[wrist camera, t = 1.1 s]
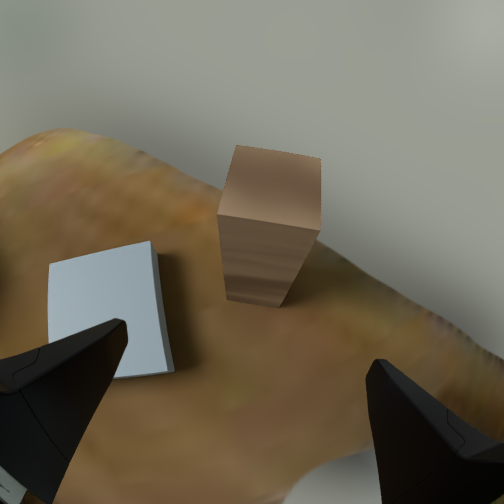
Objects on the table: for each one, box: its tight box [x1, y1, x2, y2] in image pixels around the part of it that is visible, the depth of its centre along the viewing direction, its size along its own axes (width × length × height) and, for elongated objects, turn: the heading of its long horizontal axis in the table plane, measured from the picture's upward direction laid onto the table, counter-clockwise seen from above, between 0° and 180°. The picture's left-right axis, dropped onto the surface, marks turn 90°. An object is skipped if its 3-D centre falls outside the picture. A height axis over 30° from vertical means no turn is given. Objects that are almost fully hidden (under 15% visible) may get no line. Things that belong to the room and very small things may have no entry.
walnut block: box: [217, 145, 321, 308], centre depth 19 cm, size 4×4×13 cm
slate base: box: [48, 241, 175, 379], centre depth 21 cm, size 11×11×2 cm
